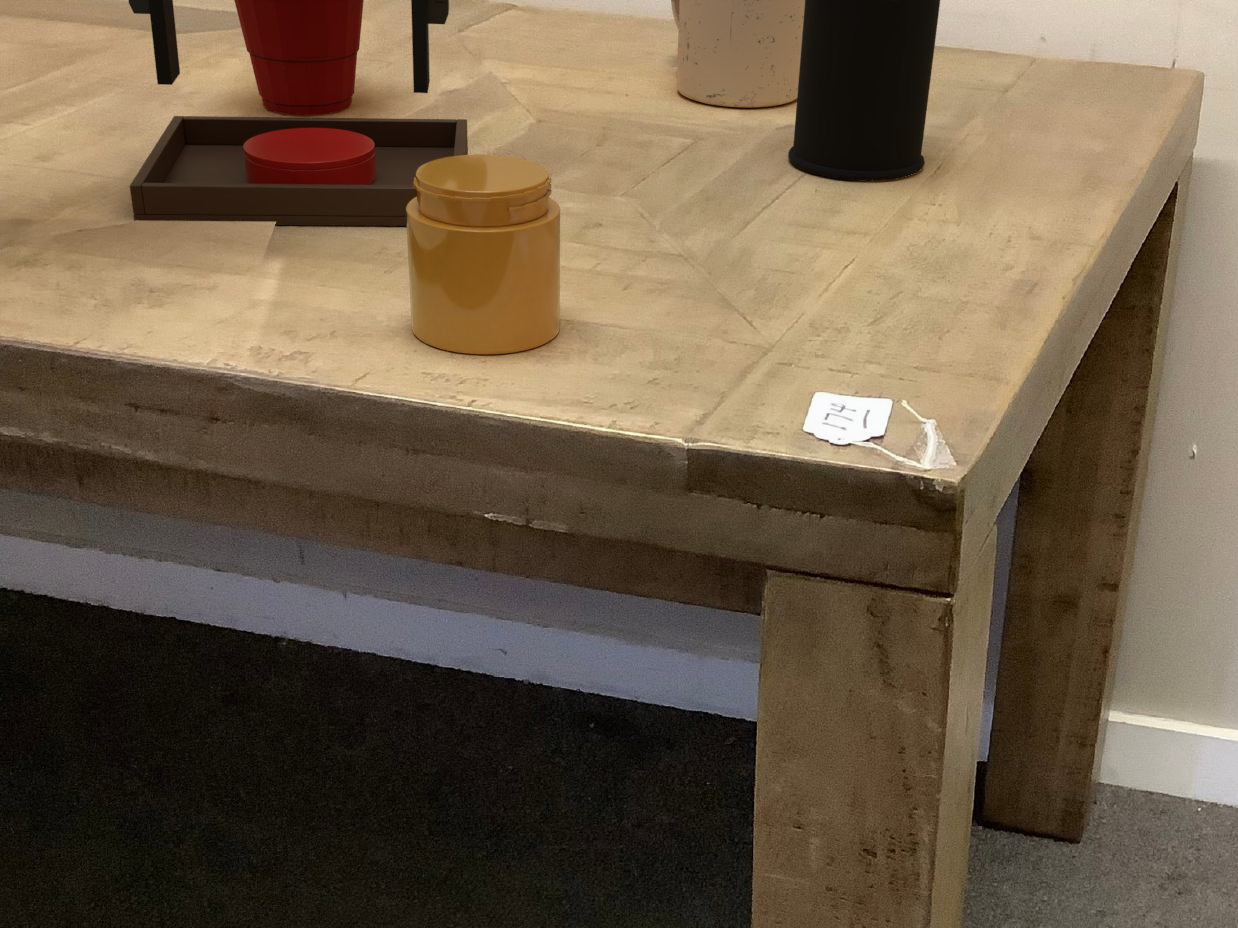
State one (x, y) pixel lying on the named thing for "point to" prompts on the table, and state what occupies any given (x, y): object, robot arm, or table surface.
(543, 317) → the jar
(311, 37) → the plastic cup
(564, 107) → the table surface
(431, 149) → the tray
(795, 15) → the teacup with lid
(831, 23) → the aerosol can
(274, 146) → the cap
